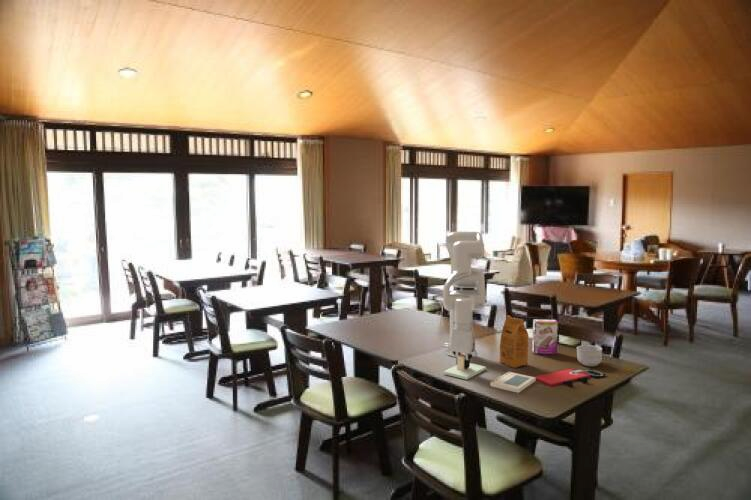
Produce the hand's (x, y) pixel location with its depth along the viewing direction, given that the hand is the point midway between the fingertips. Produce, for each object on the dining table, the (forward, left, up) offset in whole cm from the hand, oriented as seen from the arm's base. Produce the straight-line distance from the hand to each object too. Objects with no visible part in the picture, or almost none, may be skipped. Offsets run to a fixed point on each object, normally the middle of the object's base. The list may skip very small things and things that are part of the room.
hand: (463, 366), depth 228 cm
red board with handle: (+40, +21, -3) cm, 45 cm away
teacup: (+41, +46, -3) cm, 61 cm away
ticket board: (+24, 0, -2) cm, 24 cm away
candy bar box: (+18, +49, -2) cm, 52 cm away
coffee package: (+13, +24, -2) cm, 27 cm away
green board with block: (+1, 0, -2) cm, 2 cm away
